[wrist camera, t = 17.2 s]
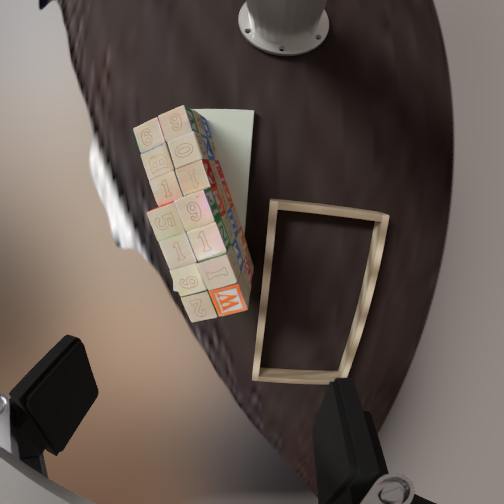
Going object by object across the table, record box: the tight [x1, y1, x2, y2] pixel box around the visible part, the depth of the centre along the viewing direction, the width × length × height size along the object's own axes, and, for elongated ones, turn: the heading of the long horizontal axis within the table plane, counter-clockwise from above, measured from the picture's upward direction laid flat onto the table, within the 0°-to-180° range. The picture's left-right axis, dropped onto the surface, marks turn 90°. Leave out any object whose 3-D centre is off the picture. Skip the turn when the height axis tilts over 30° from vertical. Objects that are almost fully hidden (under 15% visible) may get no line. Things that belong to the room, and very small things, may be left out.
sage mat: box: [173, 109, 254, 291], centre depth 37 cm, size 26×10×1 cm, turn 175°
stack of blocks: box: [133, 105, 254, 322], centre depth 30 cm, size 21×6×12 cm, turn 17°
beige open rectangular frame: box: [252, 199, 389, 384], centre depth 40 cm, size 29×16×2 cm, turn 175°
